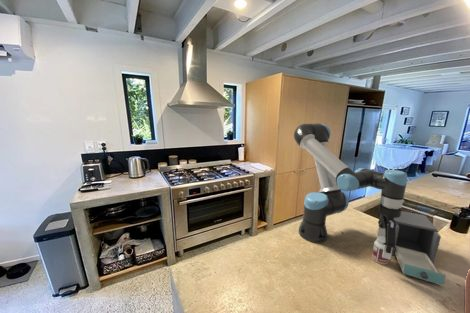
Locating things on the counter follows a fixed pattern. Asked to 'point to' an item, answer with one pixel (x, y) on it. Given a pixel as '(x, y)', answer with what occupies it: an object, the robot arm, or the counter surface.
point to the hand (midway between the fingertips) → (383, 248)
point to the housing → (416, 234)
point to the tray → (418, 265)
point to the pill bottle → (379, 251)
